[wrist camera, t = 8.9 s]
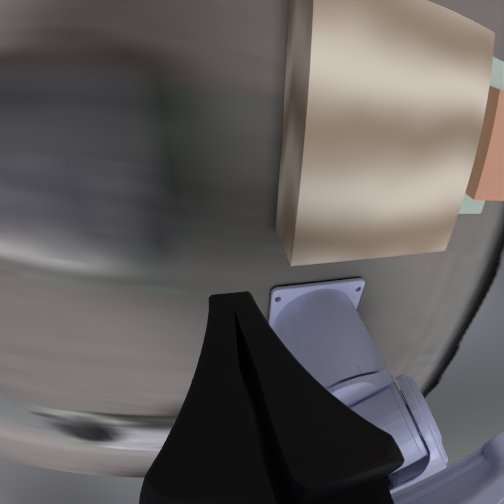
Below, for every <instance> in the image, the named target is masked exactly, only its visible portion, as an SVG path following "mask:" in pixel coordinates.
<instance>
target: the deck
mask: <svg viewBox="0 0 504 504" xmlns="http://www.w3.org/2000/svg"><path fill="white" fill-rule="evenodd" d="M494 38H495V33H494V32H492V31H491V30H489V29H487V28H485V27H483V26H481V25H480V24H478V23H476V22H474V21H472V20H470V19H468V18H466V17H464V16H462V15H460V14H458V13H455V12H453V11H451V10H449V9H447V8H444V7H442V6H440V5H437V4H435V3H433V2H430V1H428V0H289V7H288V31H287V53H286V74H285V92H284V110H283V127H282V143H281V159H280V174H279V188H278V202H277V216H276V229H275V230H276V232H277V235H278V237H279V239H280V242H281V244H282V246H283V249H284V251H285V253H286V256H287V258H288V260H289V263H290V265H291V266H299V265H309V264H320V263H331V262H341V261H351V260H361V259H371V258H381V257H391V256H400V255H410V254H419V253H428V252H437V251H445V249H446V247H447V244H448V242H449V239H450V236H451V234H452V231H453V228H454V225H455V222H456V219H457V217H458V214H459V211H460V208H461V205H462V201H463V198H464V195H465V192H466V188H467V185H468V182H469V178H470V175H471V171H472V167H473V164H474V160H475V156H476V152H477V148H478V143H479V139H480V135H481V130H482V125H483V120H484V115H485V110H486V104H487V98H488V92H489V85H490V78H491V70H492V61H493V51H494Z"/></svg>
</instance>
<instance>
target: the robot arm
mask: <svg viewBox="0 0 504 504" xmlns="http://www.w3.org/2000/svg"><path fill="white" fill-rule="evenodd" d="M364 285H365V282H364V280H363V279H362V278H354V279H346V280H338V281H329V282H320V283H311V284H302V285H293V286H283V287H276V288H274V289H273V290H272V292H271V300H270V311H269V322H267V320H266V319H265V317H264V316H263V314H262V313H261V311H260V309H259V308H258V306H257V304H256V302H255V301H254V299H253V297H252V295H251V293H249V292H248V291H247V292H237V293H227V294H216V295H211V296H210V297H209V314H208V321H207V328H206V333H205V337H204V342H203V346H202V350H201V354H200V357H199V361H198V364H197V368H196V371H195V374H194V377H193V380H192V383H191V386H190V388H189V391H188V394H187V396H186V399H185V401H184V403H183V406H182V408H181V410H180V413H179V415H178V417H177V419H176V421H175V424H174V426H173V428H172V429H171V431H170V433H169V435H168V437H167V439H166V441H165V443H164V445H163V447H162V449H161V450H160V452H159V454H158V456H157V457H156V459H155V460H154V462H153V464H152V465H151V467H150V469H149V470H148V472H147V474H146V475H145V478H144V482H143V485H142V489H141V493H140V500H139V501H140V502H139V504H499V503H500V502H501V501H502V500H503V499H504V431H502V432H501V433H499V434H498V435H496V437H494V438H492V439H491V440H490V441H488V442H487V443H485V444H484V445H483V446H482V447H481V448H479V449H478V450H476V451H474V452H473V453H471V454H469V455H468V456H466V457H464V458H463V459H461V460H459V461H458V462H456V463H454V464H452V465H450V466H449V467H447V466H446V463H447V461H448V458H447V455H446V452H445V450H444V448H443V445H442V443H441V442H442V438H441V435H440V432H439V430H438V427H437V425H436V423H435V421H434V418H433V416H432V414H431V412H430V410H429V407H428V406H427V403H426V401H425V399H424V397H423V395H422V394H421V392H420V390H419V388H418V386H417V384H416V383H415V381H414V380H413V378H411V377H407V376H406V377H405V376H404V375H399V376H398V377H396V380H397V382H398V384H399V386H400V388H401V390H400V391H401V393H402V395H403V397H404V399H405V401H406V403H407V404H406V403H405V401H404V399H403V397H402V395H401V393H400V391H399V389H398V387H397V385H396V383H395V381H394V379H393V377H392V376H391V374H390V372H389V370H388V368H386V366H385V364H384V362H383V360H382V358H381V356H380V354H379V352H378V350H377V348H376V346H375V344H374V342H373V340H372V338H371V336H370V334H369V333H368V331H367V329H366V327H365V325H364V323H363V321H362V319H361V317H360V316H359V314H358V312H357V307H358V304H359V300H360V297H361V294H362V291H363V288H364ZM358 287H359V288H358ZM277 297H279V298H277ZM276 298H277V299H276ZM249 410H250V411H249ZM250 414H251V415H250ZM251 418H252V419H251ZM419 431H420V433H421V435H422V436H420V434H419Z"/></svg>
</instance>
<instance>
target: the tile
mask: <svg viewBox="0 0 504 504" xmlns="http://www.w3.org/2000/svg"><path fill="white" fill-rule="evenodd" d="M465 193H466V194H467V195H468V196H470V197H471V198H472V199H473V200H494V201H504V91H502V90H500V89H497V88H495V87H492V86H489V92H488V98H487V104H486V110H485V115H484V120H483V125H482V130H481V135H480V139H479V143H478V148H477V152H476V156H475V160H474V164H473V167H472V171H471V175H470V178H469V182H468V185H467V188H466V192H465Z"/></svg>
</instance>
